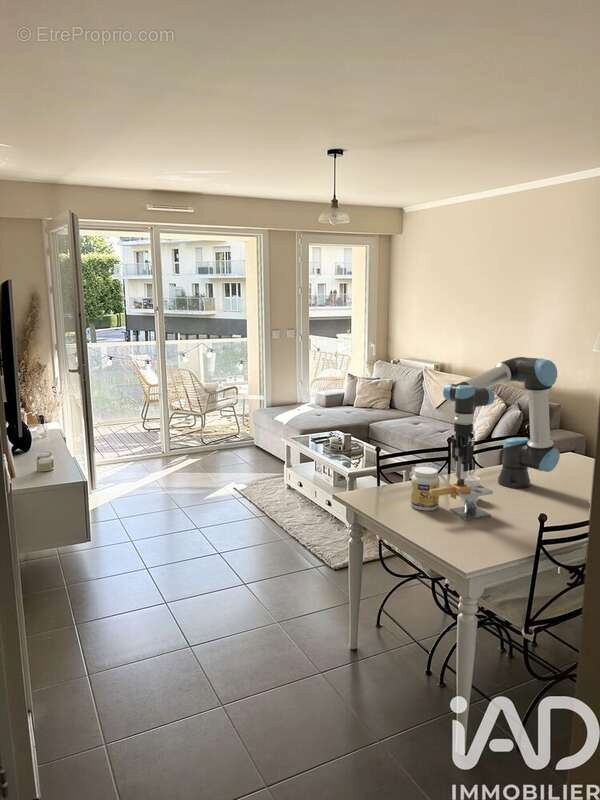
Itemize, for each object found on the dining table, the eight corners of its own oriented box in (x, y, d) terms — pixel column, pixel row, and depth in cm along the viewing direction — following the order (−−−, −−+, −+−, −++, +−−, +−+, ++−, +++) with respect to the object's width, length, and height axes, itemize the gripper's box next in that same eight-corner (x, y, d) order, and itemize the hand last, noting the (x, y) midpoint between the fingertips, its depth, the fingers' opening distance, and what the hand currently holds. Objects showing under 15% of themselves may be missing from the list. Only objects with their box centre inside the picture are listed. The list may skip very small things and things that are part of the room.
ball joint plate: (472, 507, 262) (473, 481, 260) (491, 516, 251) (492, 489, 249) (444, 511, 257) (445, 485, 254) (462, 521, 245) (463, 494, 243)
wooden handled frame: (460, 493, 254) (461, 482, 254) (470, 498, 249) (470, 486, 248) (426, 498, 248) (427, 487, 247) (435, 503, 242) (435, 492, 241)
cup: (471, 503, 266) (472, 482, 265) (449, 496, 276) (450, 475, 274) (482, 499, 271) (483, 478, 270) (461, 492, 281) (462, 472, 279)
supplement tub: (416, 512, 256) (417, 474, 253) (406, 502, 268) (407, 466, 265) (442, 510, 258) (444, 473, 255) (432, 501, 270) (433, 465, 267)
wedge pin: (463, 482, 252) (465, 446, 249) (468, 484, 249) (470, 448, 246) (452, 484, 250) (454, 447, 247) (457, 486, 247) (459, 449, 244)
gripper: (444, 419, 251) (442, 472, 255) (468, 427, 236) (465, 483, 240) (459, 418, 253) (456, 470, 258) (483, 425, 239) (480, 481, 243)
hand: (461, 477), depth 249 cm, fingers closed on wedge pin, 3 cm apart
